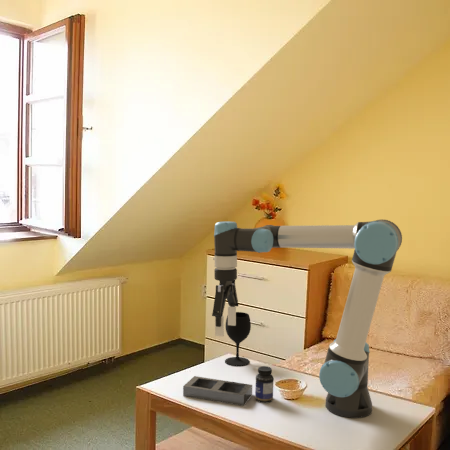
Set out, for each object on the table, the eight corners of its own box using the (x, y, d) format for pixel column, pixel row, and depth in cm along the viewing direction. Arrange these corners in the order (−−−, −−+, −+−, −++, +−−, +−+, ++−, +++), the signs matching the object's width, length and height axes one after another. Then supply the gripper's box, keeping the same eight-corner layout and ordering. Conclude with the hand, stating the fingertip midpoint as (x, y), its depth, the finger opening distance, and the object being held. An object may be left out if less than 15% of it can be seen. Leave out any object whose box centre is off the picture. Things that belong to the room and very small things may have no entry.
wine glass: (235, 368, 209) (237, 319, 208) (219, 361, 217) (220, 313, 216) (255, 363, 216) (256, 315, 214) (238, 356, 224) (239, 310, 222)
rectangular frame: (252, 394, 184) (252, 384, 184) (243, 405, 174) (243, 395, 174) (194, 385, 191) (194, 376, 191) (183, 395, 182) (183, 386, 181)
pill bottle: (252, 397, 182) (253, 366, 181) (268, 395, 184) (269, 364, 183) (259, 404, 176) (259, 372, 175) (275, 402, 178) (276, 370, 177)
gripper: (226, 262, 188) (226, 320, 189) (202, 273, 164) (202, 339, 166) (246, 263, 185) (246, 321, 187) (224, 274, 162) (224, 341, 163)
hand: (225, 330), depth 176 cm, fingers open, 13 cm apart
